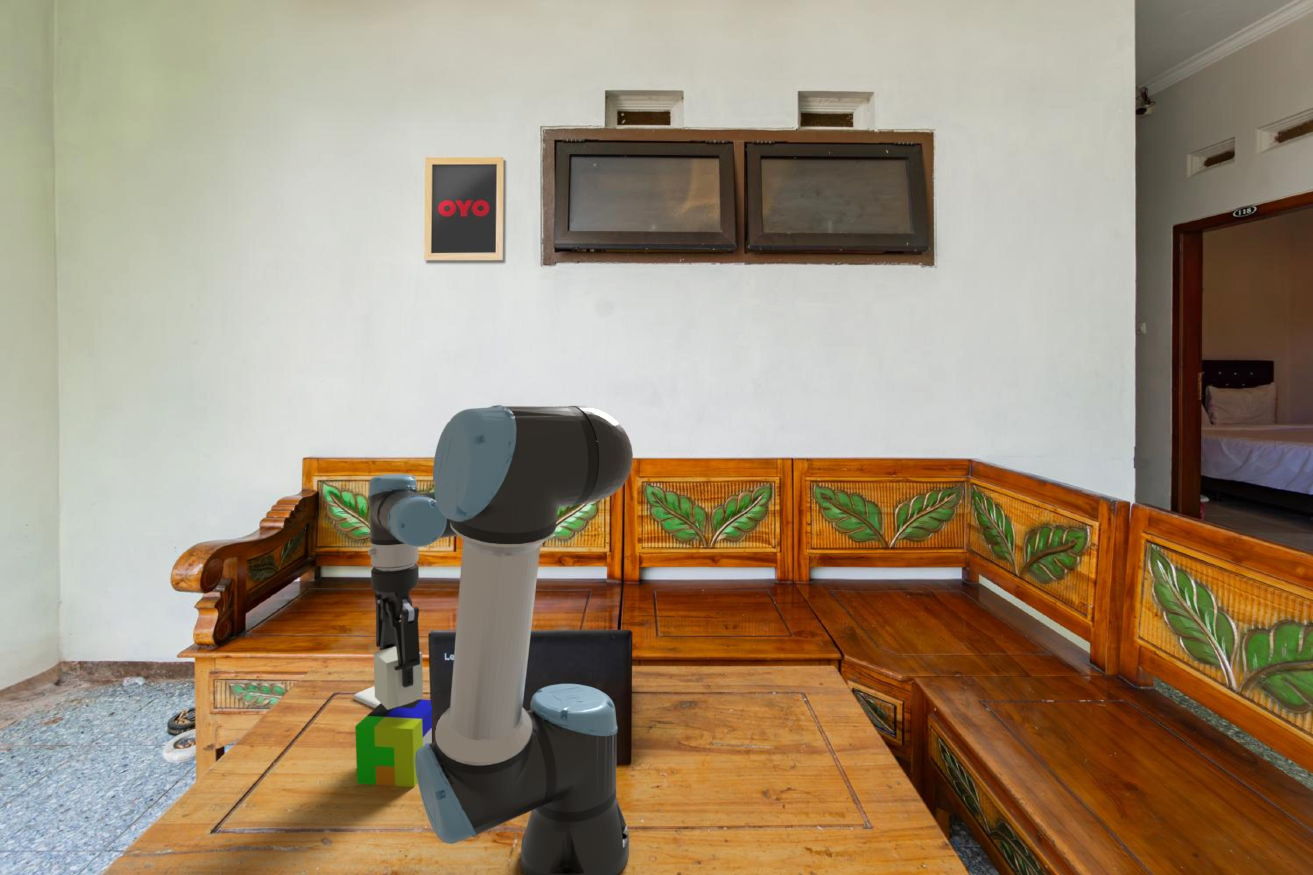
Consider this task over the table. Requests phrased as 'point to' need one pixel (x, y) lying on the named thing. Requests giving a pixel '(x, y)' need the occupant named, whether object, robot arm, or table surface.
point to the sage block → (392, 677)
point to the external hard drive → (367, 697)
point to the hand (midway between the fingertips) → (398, 695)
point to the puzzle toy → (392, 743)
